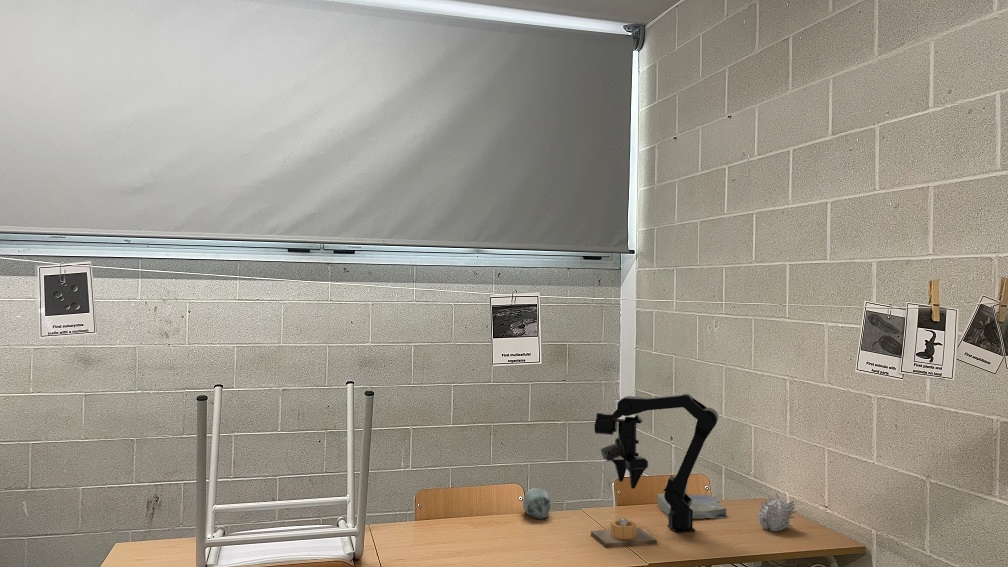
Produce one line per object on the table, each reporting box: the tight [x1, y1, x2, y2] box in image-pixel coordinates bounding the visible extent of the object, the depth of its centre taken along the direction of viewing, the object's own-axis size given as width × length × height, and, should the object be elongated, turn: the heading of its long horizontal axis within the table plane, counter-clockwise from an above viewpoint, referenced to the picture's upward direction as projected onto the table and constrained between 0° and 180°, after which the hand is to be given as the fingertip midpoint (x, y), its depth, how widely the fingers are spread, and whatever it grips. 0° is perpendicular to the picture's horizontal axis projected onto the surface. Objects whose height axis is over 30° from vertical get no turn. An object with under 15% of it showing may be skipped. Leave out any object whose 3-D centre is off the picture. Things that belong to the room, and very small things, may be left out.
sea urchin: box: [756, 492, 798, 532], centre depth 234 cm, size 12×11×12 cm
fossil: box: [656, 492, 728, 520], centre depth 253 cm, size 22×5×19 cm
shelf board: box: [590, 527, 658, 549], centre depth 221 cm, size 16×12×1 cm
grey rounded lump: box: [522, 487, 551, 520], centre depth 246 cm, size 14×10×10 cm
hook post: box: [617, 517, 628, 526], centre depth 221 cm, size 4×4×5 cm
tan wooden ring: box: [610, 519, 637, 539], centre depth 221 cm, size 7×7×4 cm
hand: (626, 484), depth 239 cm, fingers open, 9 cm apart
